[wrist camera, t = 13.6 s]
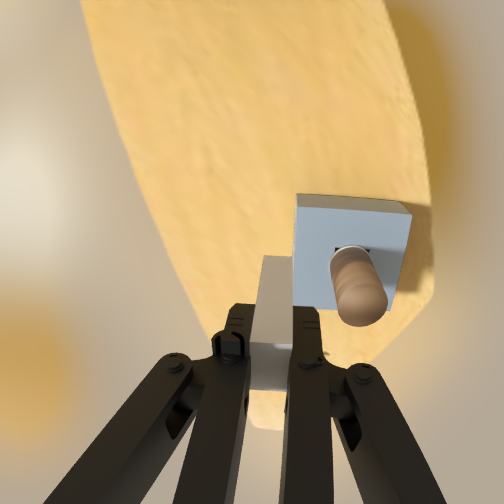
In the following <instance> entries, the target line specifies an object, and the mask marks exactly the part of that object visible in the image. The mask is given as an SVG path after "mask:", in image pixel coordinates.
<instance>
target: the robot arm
mask: <svg viewBox="0 0 504 504" xmlns="http://www.w3.org/2000/svg"><path fill="white" fill-rule="evenodd" d="M211 341H212V350H213V355H212V356H210V357H208V358H205V359H200V360H193V361H191V359H190V358H189V357H188V356H187V355H185V354H182V353H170V354H167V355H165V356H163V357H162V358H161V359H160V360H159V361H158V362H157V363H156V365H155V366H154V367H153V368H152V370H151V371H150V372H149V373H148V374H147V376H146V377H145V378H144V379H143V381H142V382H141V383H140V384H139V385H138V387H137V388H136V389H135V390H134V392H133V393H132V394H131V395H130V396H129V398H128V399H127V400H126V402H125V403H124V404H123V405H122V406H121V408H120V409H119V410H118V411H117V413H116V414H115V415H114V416H113V417H112V419H111V420H110V421H109V422H108V424H107V425H106V426H105V427H104V429H103V430H102V431H101V433H100V434H99V435H98V436H97V437H96V438H95V440H94V441H93V442H92V444H91V445H90V446H89V447H88V448H87V450H86V451H85V452H84V453H83V455H82V456H81V457H80V458H79V459H78V461H77V462H76V463H75V464H74V466H73V467H72V468H71V470H70V471H69V472H68V473H67V474H66V476H65V477H64V478H63V479H62V481H61V482H60V483H59V484H58V486H57V487H56V488H55V489H54V491H53V492H52V493H51V494H50V496H49V497H48V498H47V499H46V500H45V502H44V503H43V504H140V503H141V501H142V500H143V498H144V497H145V495H146V494H147V492H148V491H149V489H150V488H151V486H152V485H153V483H154V482H155V480H156V478H157V477H158V475H159V474H160V472H161V471H162V469H163V467H164V466H165V464H166V463H167V461H168V460H169V458H170V457H171V455H172V453H173V452H174V450H175V449H176V447H177V445H178V444H179V442H180V441H181V439H182V437H183V436H184V434H185V433H186V431H187V429H188V428H189V426H190V425H191V423H192V421H193V420H194V418H195V416H196V419H195V422H194V426H193V430H192V433H191V437H190V441H189V444H188V448H187V452H186V455H185V459H184V463H183V466H182V470H181V474H180V477H179V481H178V485H177V489H176V493H175V496H174V500H173V504H233V502H234V496H235V490H236V484H237V477H238V471H239V464H240V457H241V451H242V445H243V438H244V432H245V424H246V418H247V411H248V404H249V390H250V389H252V390H266V391H284V392H287V395H286V403H285V410H284V413H285V421H284V439H283V453H282V467H281V480H280V494H279V504H334V485H333V484H334V483H333V452H332V431H331V417H333V420H334V422H335V425H336V428H337V431H338V434H339V436H340V439H341V442H342V444H343V447H344V450H345V452H346V455H347V458H348V461H349V464H350V466H351V469H352V472H353V475H354V478H355V480H356V483H357V486H358V489H359V492H360V494H361V497H362V500H363V503H364V504H447V503H446V501H445V499H444V497H443V495H442V492H441V490H440V488H439V486H438V484H437V482H436V480H435V478H434V476H433V474H432V472H431V470H430V468H429V465H428V463H427V462H426V459H425V458H424V455H423V453H422V451H421V449H420V447H419V446H418V444H417V442H416V440H415V438H414V436H413V434H412V432H411V430H410V428H409V426H408V424H407V423H406V421H405V419H404V417H403V415H402V413H401V411H400V409H399V407H398V405H397V403H396V402H395V400H394V398H393V396H392V394H391V392H390V391H389V389H388V387H387V385H386V383H385V381H384V380H383V378H382V376H381V374H380V373H379V371H378V370H377V369H376V368H375V367H373V366H371V365H370V364H366V363H357V364H354V365H351V366H350V367H349V368H348V369H345V368H341V367H337V366H335V365H333V364H331V363H329V362H328V361H327V360H326V359H325V357H324V355H323V349H322V339H321V330H320V319H319V313H318V312H317V310H316V309H315V308H314V307H313V306H293V257H288V256H267V255H264V257H263V263H262V269H261V276H260V282H259V288H258V294H257V300H256V304H241V303H236V304H235V305H234V306H233V307H232V308H231V309H230V310H229V314H228V317H227V321H226V325H225V328H224V330H222V331H219V332H218V333H216V334H215V335H214V336H213V337H212V339H211Z"/></svg>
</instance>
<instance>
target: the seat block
mask: <svg viewBox="0 0 504 504" xmlns="http://www.w3.org/2000/svg"><path fill="white" fill-rule="evenodd" d="M411 221H412V214H411V213H410V212H409V211H408V210H407V209H406V208H405V207H404V206H403V205H402V204H401V203H400V202H399V201H390V200H379V199H368V198H355V197H341V196H327V195H310V194H296V211H295V228H294V245H293V306H313V307H314V308H315V309H323V310H338V308H337V303H336V298H335V293H334V288H333V283H332V278H331V274H330V271H329V261H330V258H331V256H332V255H333V253H334V252H335V247H336V248H341V247H343V246H346V245H357V246H360V247H362V248H364V249H365V250H366V251H367V252H368V254H369V256H370V258H371V261H372V263H373V265H374V267H375V270H376V272H377V274H378V276H379V279H380V281H381V283H382V285H383V288H384V290H385V292H386V295H387V298H388V307H387V310H386V311H390V309H391V306H392V302H393V298H394V295H395V291H396V287H397V284H398V280H399V276H400V272H401V268H402V263H403V259H404V255H405V250H406V246H407V241H408V236H409V231H410V226H411Z"/></svg>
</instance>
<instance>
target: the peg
mask: <svg viewBox="0 0 504 504" xmlns="http://www.w3.org/2000/svg"><path fill="white" fill-rule="evenodd" d="M329 271H330V274H331V278H332V283H333V288H334V293H335V298H336V303H337V308H338V313H339V316H340V318H341V319H342V321H344V322H345V323H346V324H348V325H351V326H355V327H363V326H368V325H370V324H373V323H375V322H376V321H378V320H379V319H380V318H381V317H382V316H383V315H384V313H385V312H386V310H387V307H388V298H387V295H386V292H385V290H384V288H383V285H382V283H381V281H380V279H379V276H378V274H377V272H376V270H375V267H374V265H373V263H372V261H371V258H370V256H369V254H368V252H367V251H366V250H365V249H364V248H362V247H360V246H357V245H346V246H343V247H341V248H336V247H335V252H334V253H333V255H332V256H331V258H330V261H329Z"/></svg>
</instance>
